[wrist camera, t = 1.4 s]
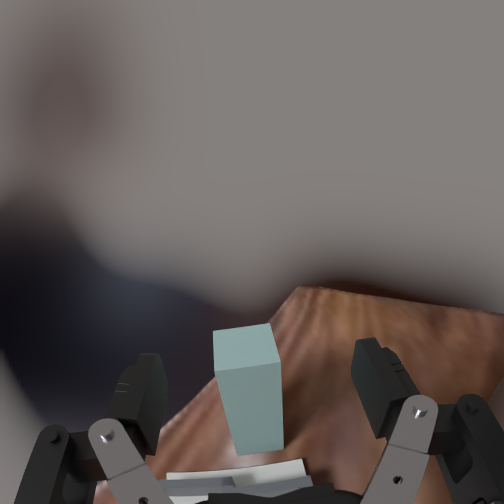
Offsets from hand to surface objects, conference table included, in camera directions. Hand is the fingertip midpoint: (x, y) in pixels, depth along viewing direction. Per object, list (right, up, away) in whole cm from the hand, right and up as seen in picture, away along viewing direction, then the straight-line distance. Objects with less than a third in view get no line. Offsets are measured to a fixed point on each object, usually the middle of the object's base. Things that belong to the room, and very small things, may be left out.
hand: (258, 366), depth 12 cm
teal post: (0, -16, +19) cm, 24 cm away
